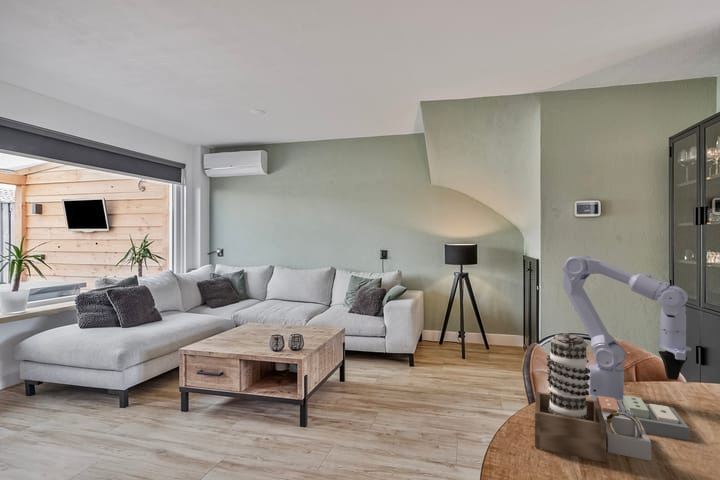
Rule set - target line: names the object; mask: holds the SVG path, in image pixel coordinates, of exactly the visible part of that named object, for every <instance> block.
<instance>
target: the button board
mask: <svg viewBox="0 0 720 480" xmlns="http://www.w3.org/2000/svg"><path fill="white" fill-rule="evenodd" d="M590 400H593V401H598V396H592V395H591V397H590ZM615 400H616V402H617V404H618V406H619V408H620V410H621V409H623V408H624V406H623V400H618V399H615ZM644 404H645V405H646V407H647V408H648V410H649V419H645V418H639V417H636V418H637V419H638V420H639V421H640V423H641V425H642V427H643V428H644V430H645V432H646V434H650V435H656V436H657V435H658V436H662V437H666V438H667V437H668V438H673V439H679V440H683V441H690V427H689V426H688V424H686V422H685V421H684V420H683V418H682V417H681V416H680V414H679V413H678V412H677V410H675V408H674V407H670V406H668V407H669V409H670V410H671V411H672V413H673V414H674V415H675V416H676V418H677V419H678V420H679V423H678V424H675V423H669V422H663V421H657V420H656V418H655V417H654V415H653V414H652V412H651V410H650V409H649V406H650V404H651V403H645V402H644ZM601 412H602V411H601ZM602 414H608V415H610V414H611V413H608V412H602ZM619 416H620V417H626V416H621V415H619ZM626 418H628V417H626Z"/></svg>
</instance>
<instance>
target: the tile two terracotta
mask: <svg viewBox="0 0 720 480" xmlns="http://www.w3.org/2000/svg"><path fill="white" fill-rule="evenodd" d="M598 403H599V406H600V409H601V411H602V412H608V413H612V412H613V411H615V410H618V408H619V406H618V404H617V402H616V400H615V398H611V397H604V396H598ZM619 409H620V408H619Z"/></svg>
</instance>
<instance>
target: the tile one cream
mask: <svg viewBox="0 0 720 480" xmlns="http://www.w3.org/2000/svg"><path fill="white" fill-rule="evenodd" d="M649 404H650V406H649V409H650V410H651V412H652V414H653V415H654V417H655V418H656V420H657V421H663V422H669V423H675V424H678V423H679V420H678V419H677V418H676V416H675V415H674V414H673V413H672V411H671V410H670V409H669V407H670V406H667V405H662V404H661V405H660V404H655V403H654V404H653V403H649Z"/></svg>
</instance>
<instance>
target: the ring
mask: <svg viewBox="0 0 720 480" xmlns="http://www.w3.org/2000/svg"><path fill="white" fill-rule="evenodd" d="M628 410H629V409H627V410H625V408H623V409H621V410H620V409H619V408H618V410H615V411H613V412H612V413H611V414H610V415H609V416H608V417H607V422H608V423H609V426H610V428H611V431H612V433H613V434H617V433H616V432H615V431H614V429H613V427H612V423H611V421H612V418H613V417H615V416H619V415H621V416H626V417H628V418H630V419H631V420H632V421H633V422H634V424H635V426H636V428H637V436H636V438H641V433H642V426H641V424H640V422H639V421H638V419H637V418H636V417H635V416H633V413H632V414H631V411H628Z"/></svg>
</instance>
